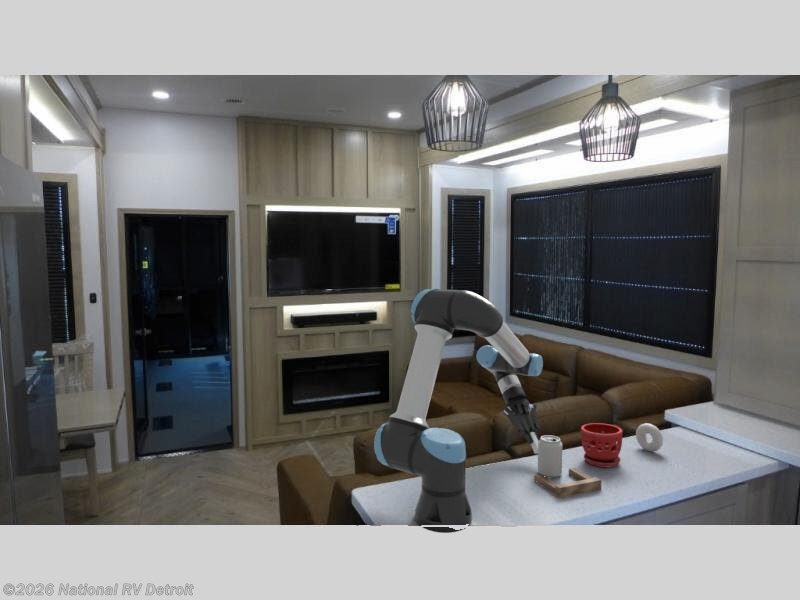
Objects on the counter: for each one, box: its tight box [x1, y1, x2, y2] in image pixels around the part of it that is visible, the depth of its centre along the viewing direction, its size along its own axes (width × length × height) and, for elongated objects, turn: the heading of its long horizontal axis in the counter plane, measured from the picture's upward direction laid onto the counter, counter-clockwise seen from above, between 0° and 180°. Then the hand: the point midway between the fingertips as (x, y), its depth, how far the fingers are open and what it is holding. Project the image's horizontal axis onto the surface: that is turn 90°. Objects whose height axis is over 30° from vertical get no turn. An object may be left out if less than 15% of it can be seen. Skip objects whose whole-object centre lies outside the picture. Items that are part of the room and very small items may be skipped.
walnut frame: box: [533, 467, 602, 499], centre depth 162 cm, size 15×12×3 cm
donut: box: [635, 422, 664, 453], centre depth 188 cm, size 10×3×10 cm, turn 30°
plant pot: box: [580, 422, 623, 468], centre depth 179 cm, size 13×13×12 cm
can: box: [537, 434, 563, 479], centre depth 169 cm, size 8×8×12 cm
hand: (538, 451), depth 176 cm, fingers closed
